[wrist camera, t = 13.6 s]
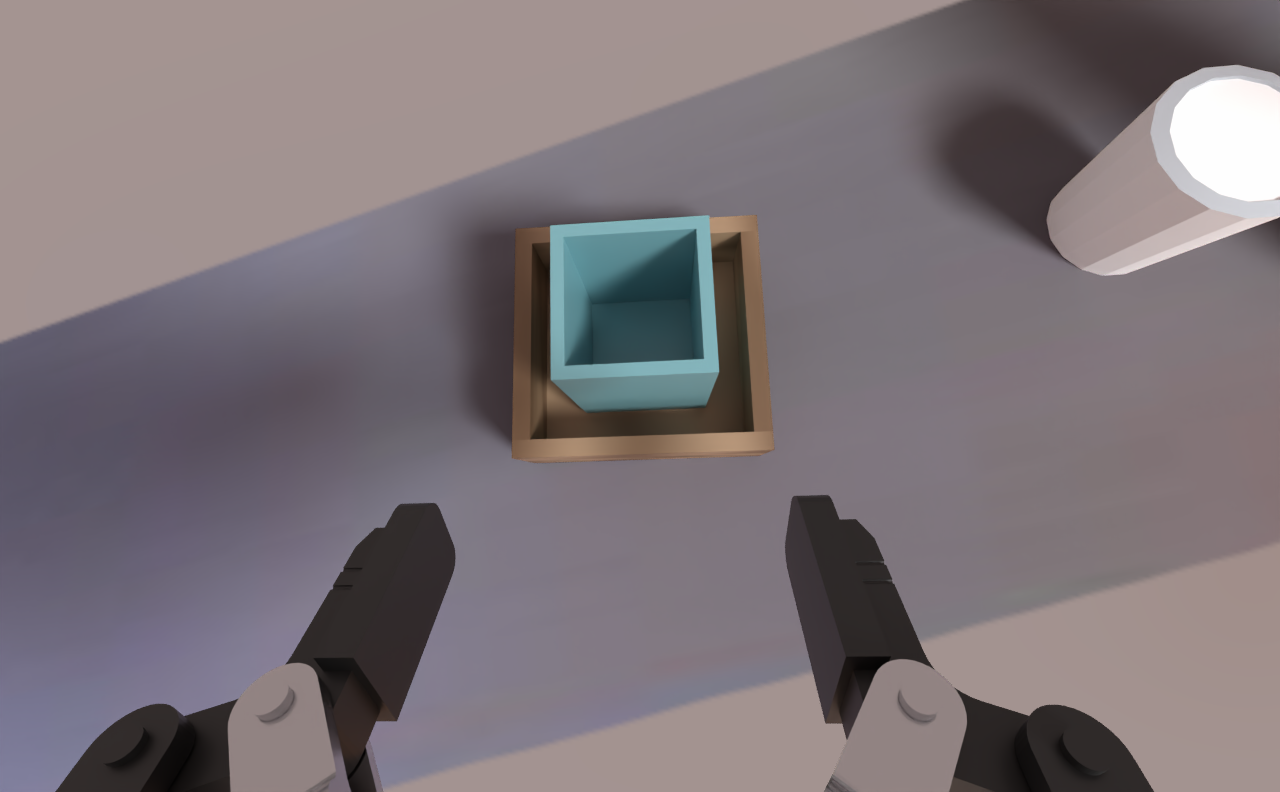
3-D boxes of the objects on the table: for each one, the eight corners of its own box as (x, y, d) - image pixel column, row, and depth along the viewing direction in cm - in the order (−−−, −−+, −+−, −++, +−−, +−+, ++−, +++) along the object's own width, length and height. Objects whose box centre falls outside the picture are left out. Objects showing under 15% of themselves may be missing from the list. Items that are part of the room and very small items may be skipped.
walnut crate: (744, 253, 28) (756, 215, 24) (759, 455, 26) (774, 449, 22) (536, 264, 29) (515, 228, 25) (535, 463, 27) (511, 458, 23)
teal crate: (698, 294, 27) (709, 215, 19) (705, 407, 26) (719, 372, 18) (584, 301, 28) (550, 225, 20) (586, 413, 27) (550, 380, 19)
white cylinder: (1174, 294, 27) (1348, 225, 20) (1033, 279, 27) (1155, 207, 20) (1170, 173, 28) (1334, 68, 21) (1034, 161, 28) (1150, 55, 22)
